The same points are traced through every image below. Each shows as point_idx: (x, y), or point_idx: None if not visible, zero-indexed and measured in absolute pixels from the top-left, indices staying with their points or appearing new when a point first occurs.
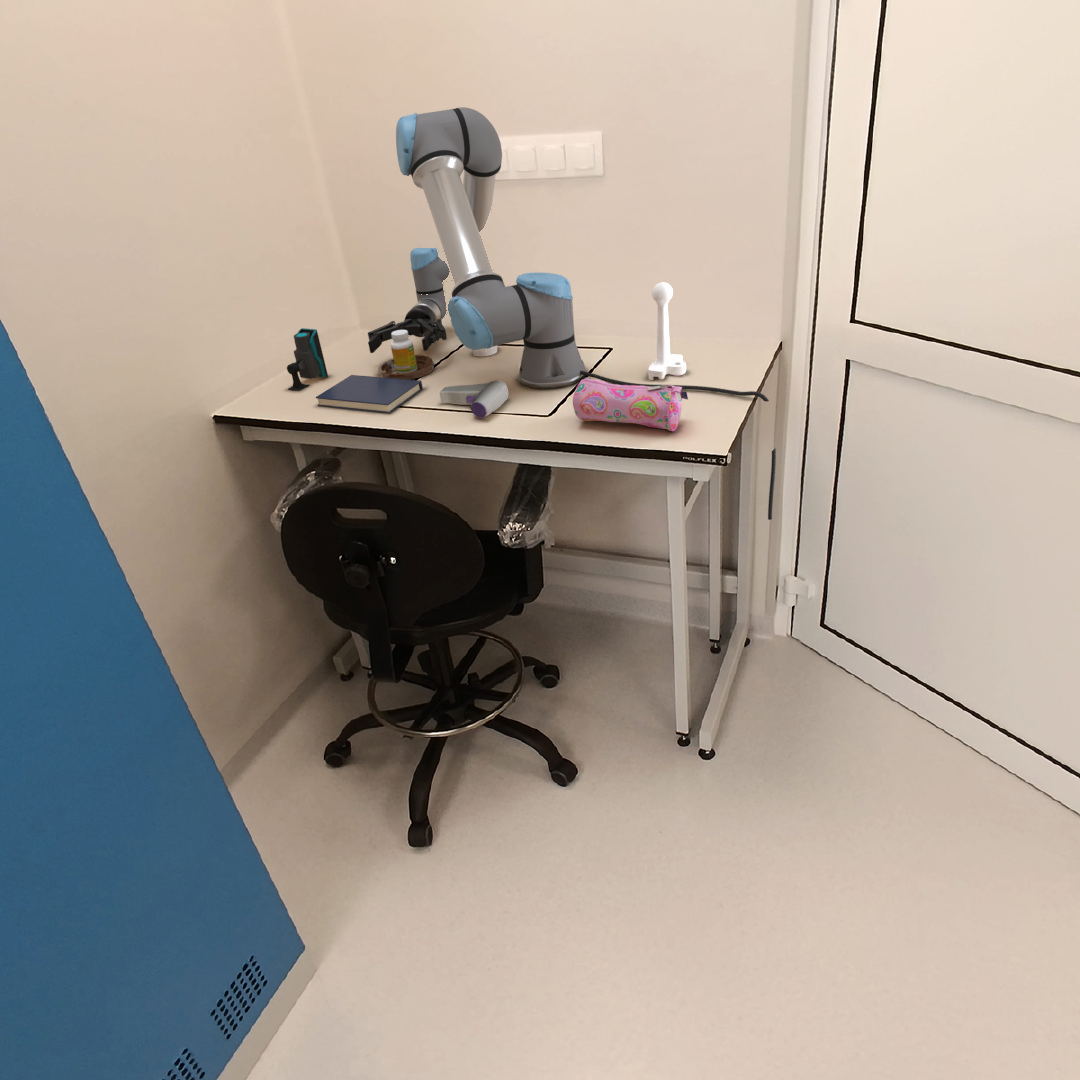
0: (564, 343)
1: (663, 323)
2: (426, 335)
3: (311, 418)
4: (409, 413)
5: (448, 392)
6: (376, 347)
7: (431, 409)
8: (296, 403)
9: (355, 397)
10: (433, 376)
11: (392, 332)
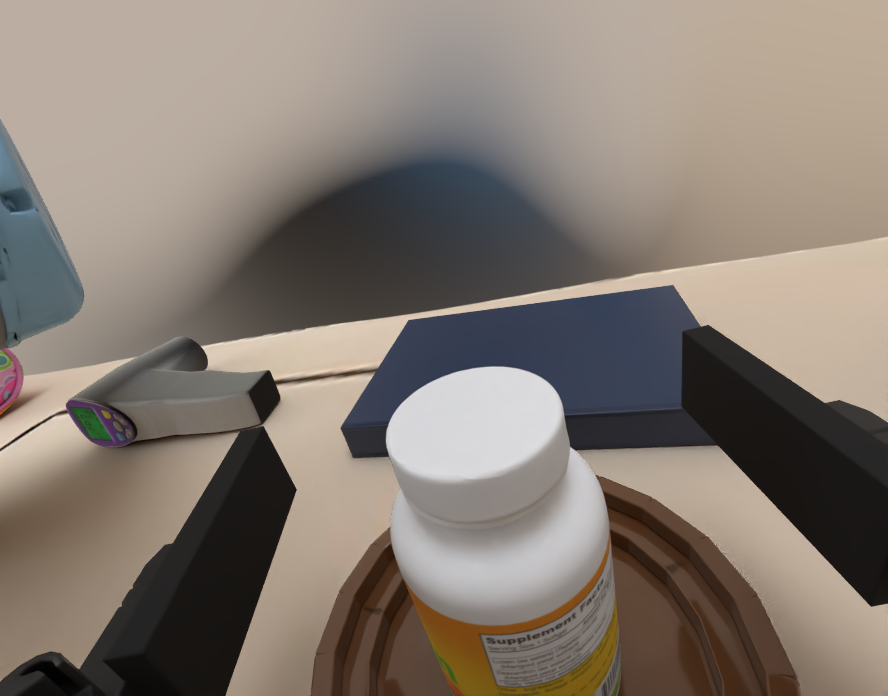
0: None
1: None
2: (210, 510)
3: (616, 288)
4: (364, 354)
5: (242, 373)
6: (734, 448)
7: (310, 377)
8: (781, 303)
9: (528, 313)
10: (321, 592)
11: (550, 395)
